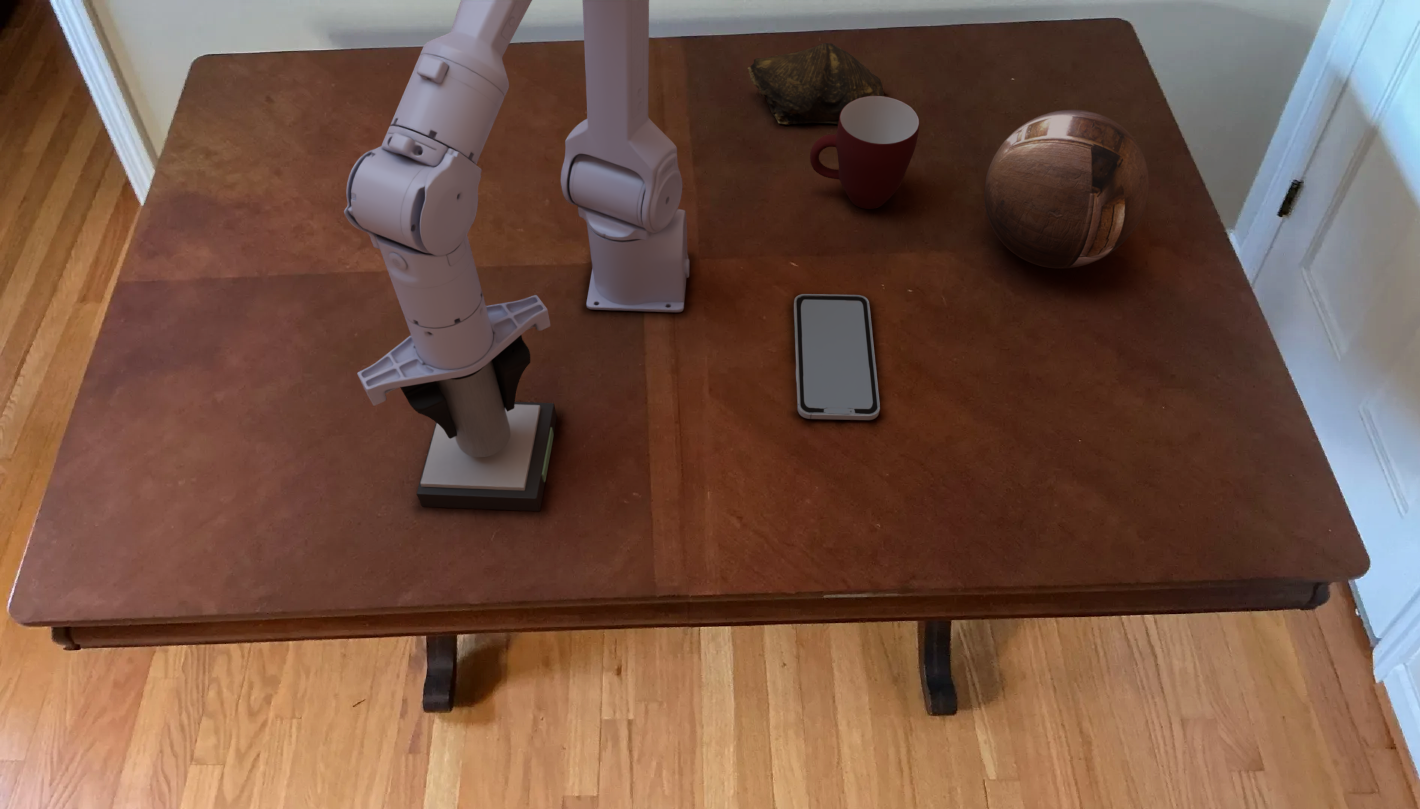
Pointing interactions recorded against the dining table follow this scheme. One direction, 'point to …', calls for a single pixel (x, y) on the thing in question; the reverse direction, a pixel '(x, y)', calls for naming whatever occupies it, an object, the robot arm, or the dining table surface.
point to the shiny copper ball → (1066, 189)
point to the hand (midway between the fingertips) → (477, 415)
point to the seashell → (812, 83)
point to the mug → (870, 148)
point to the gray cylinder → (477, 412)
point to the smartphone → (835, 357)
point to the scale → (492, 466)
